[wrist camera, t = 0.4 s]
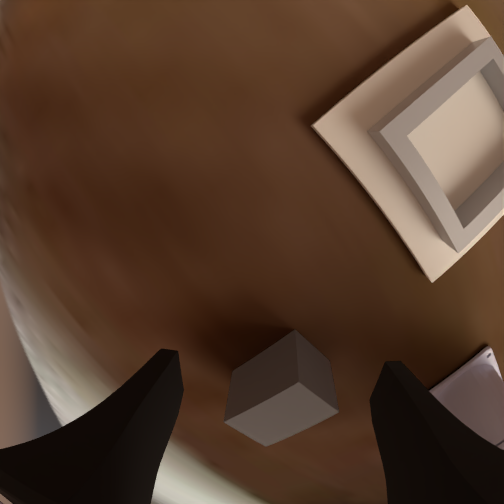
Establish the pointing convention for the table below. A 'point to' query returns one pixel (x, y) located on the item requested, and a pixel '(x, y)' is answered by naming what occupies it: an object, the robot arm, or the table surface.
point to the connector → (281, 391)
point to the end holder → (430, 139)
